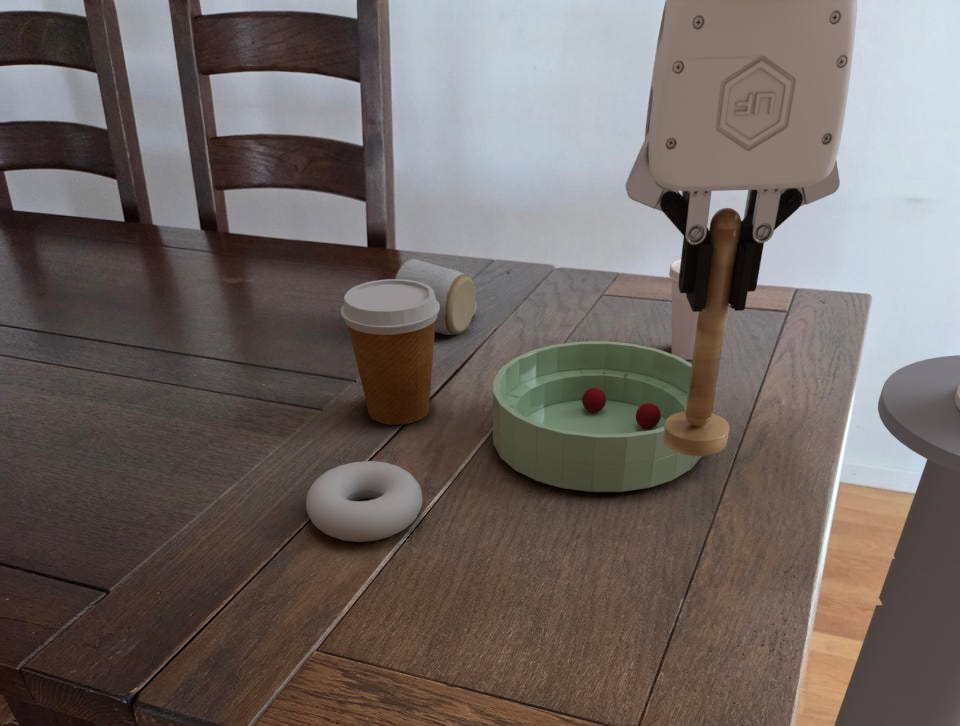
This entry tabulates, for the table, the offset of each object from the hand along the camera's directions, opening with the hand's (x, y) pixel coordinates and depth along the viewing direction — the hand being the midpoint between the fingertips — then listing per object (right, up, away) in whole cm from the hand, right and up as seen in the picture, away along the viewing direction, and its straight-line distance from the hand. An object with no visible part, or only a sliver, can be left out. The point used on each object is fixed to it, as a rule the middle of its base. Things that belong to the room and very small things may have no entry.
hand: (714, 301), depth 56 cm
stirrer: (0, -7, +6) cm, 10 cm away
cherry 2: (+2, +1, +31) cm, 31 cm away
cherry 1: (-3, +3, +34) cm, 34 cm away
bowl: (-3, -2, +31) cm, 31 cm away
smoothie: (+9, +11, +46) cm, 49 cm away
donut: (-25, -11, +22) cm, 34 cm away
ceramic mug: (-20, +17, +54) cm, 60 cm away
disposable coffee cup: (-23, +2, +37) cm, 43 cm away
